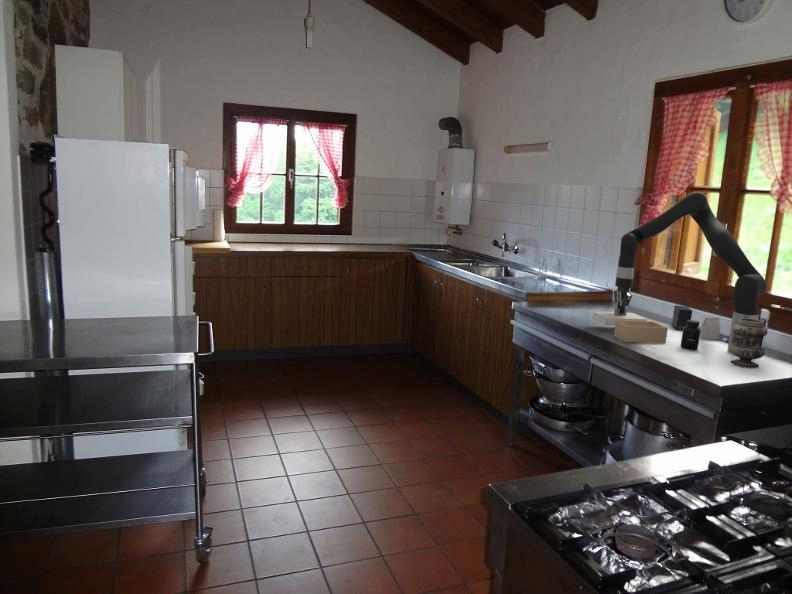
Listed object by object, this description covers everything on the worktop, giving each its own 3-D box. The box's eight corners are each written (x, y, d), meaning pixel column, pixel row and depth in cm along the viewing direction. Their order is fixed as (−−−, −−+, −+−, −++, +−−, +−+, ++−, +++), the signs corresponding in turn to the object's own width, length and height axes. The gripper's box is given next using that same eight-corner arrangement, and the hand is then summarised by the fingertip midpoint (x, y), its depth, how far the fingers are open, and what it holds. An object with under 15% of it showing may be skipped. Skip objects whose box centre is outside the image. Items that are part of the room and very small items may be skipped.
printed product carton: (718, 340, 285) (721, 318, 283) (705, 340, 284) (708, 318, 282) (712, 337, 288) (716, 316, 287) (700, 337, 287) (703, 316, 285)
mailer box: (665, 343, 273) (667, 327, 272) (626, 342, 270) (628, 326, 269) (651, 336, 284) (653, 321, 283) (613, 335, 282) (615, 320, 281)
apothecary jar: (750, 361, 251) (757, 317, 247) (769, 370, 239) (776, 324, 236) (720, 359, 250) (727, 315, 247) (738, 368, 238) (745, 322, 235)
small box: (690, 331, 300) (693, 310, 298) (675, 330, 301) (678, 308, 299) (684, 326, 310) (687, 306, 308) (670, 325, 311) (673, 304, 309)
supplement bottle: (687, 350, 262) (691, 322, 259) (676, 346, 268) (680, 319, 266) (701, 350, 263) (705, 322, 261) (690, 346, 270) (694, 319, 268)
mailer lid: (646, 326, 287) (648, 312, 286) (605, 325, 284) (607, 311, 283) (631, 319, 300) (633, 306, 299) (593, 318, 298) (594, 305, 296)
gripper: (639, 279, 282) (635, 317, 285) (625, 274, 295) (621, 310, 299) (624, 278, 281) (619, 316, 284) (610, 274, 294) (606, 310, 298)
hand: (620, 313), depth 291 cm, fingers closed on mailer lid
